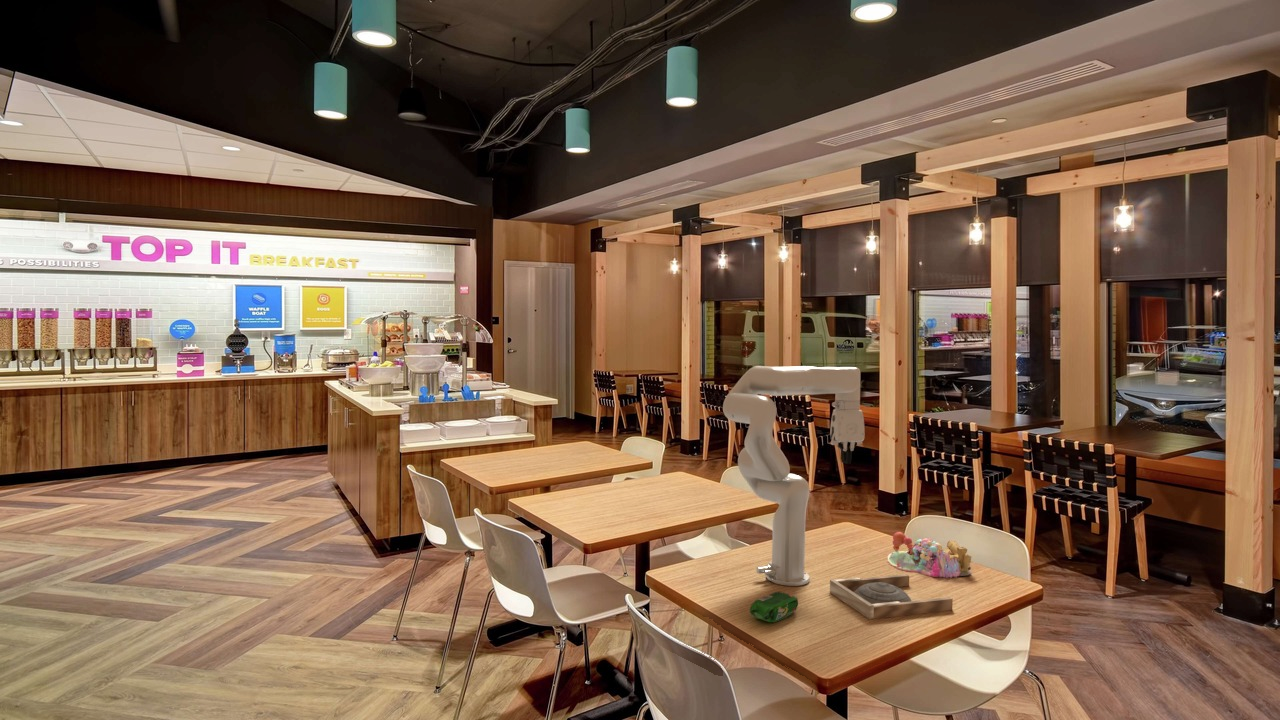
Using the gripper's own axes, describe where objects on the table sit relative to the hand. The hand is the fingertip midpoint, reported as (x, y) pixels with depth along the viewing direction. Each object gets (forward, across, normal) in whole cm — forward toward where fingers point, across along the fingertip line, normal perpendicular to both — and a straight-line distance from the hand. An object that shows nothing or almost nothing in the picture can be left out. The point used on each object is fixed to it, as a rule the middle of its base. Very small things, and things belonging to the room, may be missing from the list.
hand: (846, 462), depth 223 cm
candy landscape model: (+33, +25, -9) cm, 42 cm away
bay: (+32, -5, -32) cm, 46 cm away
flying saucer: (+33, -8, -32) cm, 47 cm away
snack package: (+32, -41, -34) cm, 63 cm away
